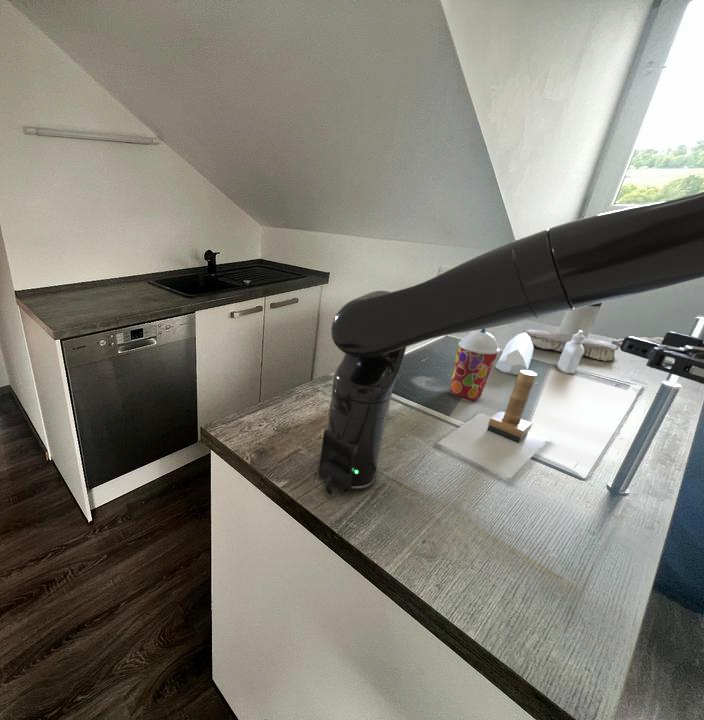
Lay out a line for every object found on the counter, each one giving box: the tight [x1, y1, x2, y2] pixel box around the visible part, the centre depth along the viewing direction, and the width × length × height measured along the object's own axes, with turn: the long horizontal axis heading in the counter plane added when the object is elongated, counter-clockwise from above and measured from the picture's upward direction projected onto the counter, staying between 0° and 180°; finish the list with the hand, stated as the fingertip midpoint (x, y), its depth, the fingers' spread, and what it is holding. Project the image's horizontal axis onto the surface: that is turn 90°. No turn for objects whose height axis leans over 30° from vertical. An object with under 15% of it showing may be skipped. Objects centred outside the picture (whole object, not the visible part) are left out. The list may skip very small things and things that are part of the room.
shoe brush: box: [522, 329, 619, 362], centre depth 125 cm, size 24×8×5 cm, turn 52°
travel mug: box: [557, 302, 603, 338], centre depth 132 cm, size 8×8×18 cm
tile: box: [436, 412, 550, 480], centre depth 79 cm, size 20×13×1 cm, turn 126°
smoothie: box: [449, 328, 500, 402], centre depth 94 cm, size 8×8×20 cm
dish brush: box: [487, 369, 538, 443], centre depth 78 cm, size 5×6×14 cm
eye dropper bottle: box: [556, 331, 584, 374], centre depth 110 cm, size 4×6×12 cm
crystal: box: [494, 332, 535, 376], centre depth 117 cm, size 7×7×24 cm
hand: (644, 340), depth 56 cm, fingers open, 8 cm apart
